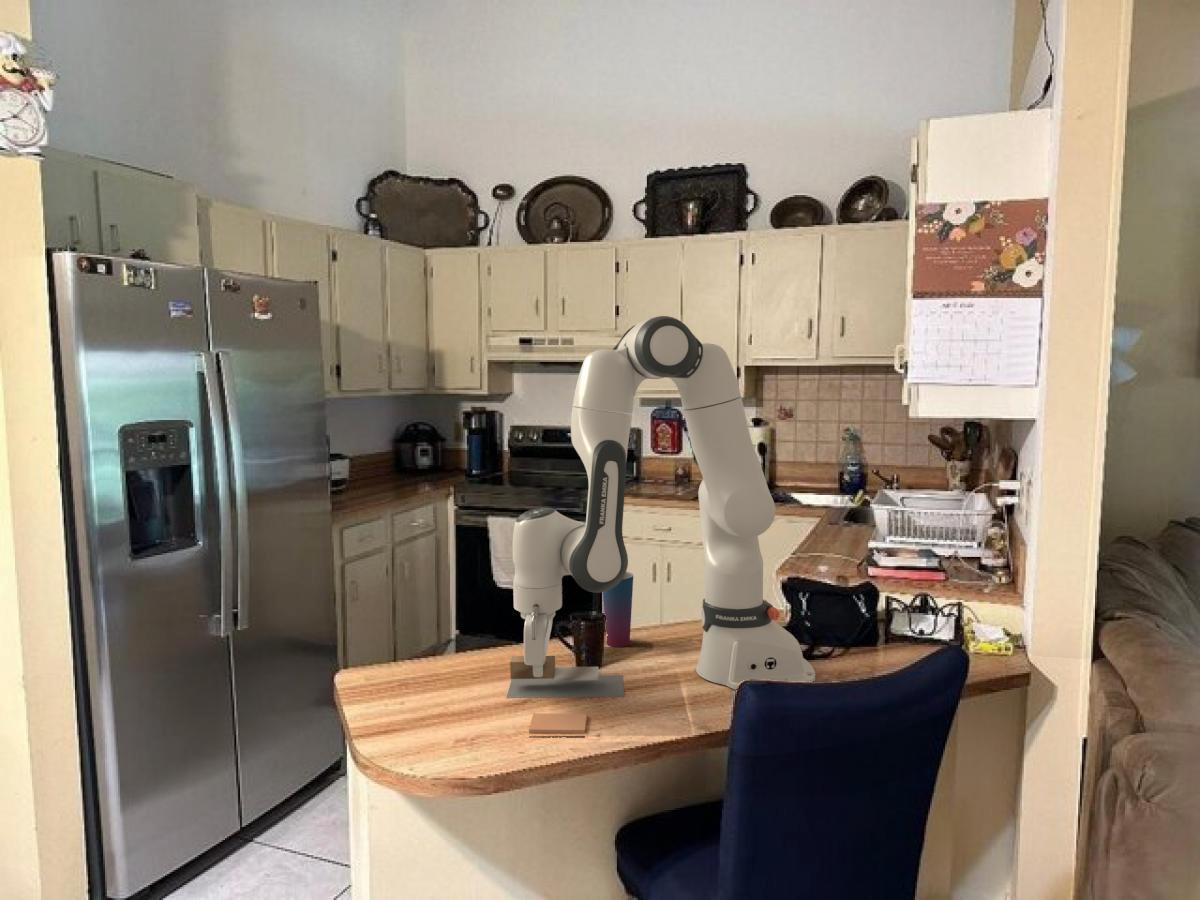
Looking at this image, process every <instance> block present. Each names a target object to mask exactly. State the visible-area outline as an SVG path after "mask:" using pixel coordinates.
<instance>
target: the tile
mask: <svg viewBox="0 0 1200 900" xmlns="http://www.w3.org/2000/svg"><path fill="white" fill-rule="evenodd" d="M587 718H588V716H587V713H540V712H539V713H536V712H535V713H533V714H532V717H531V720H530V725H529V728H528V733H529V734H586V726H587V725H586V724H587ZM551 737H552V738H551ZM558 737H559V738H558ZM562 737H566V738H565V739H585V738H586V735H541V736H540V735H533V736H532V735H531V736H530V735H529V736H528V738H529V739H531V738H533V739H535V738H537V739H539V738H540V739H541V738H542V739H545V738H546V739H549V738H550V739H563V738H562Z"/></svg>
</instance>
